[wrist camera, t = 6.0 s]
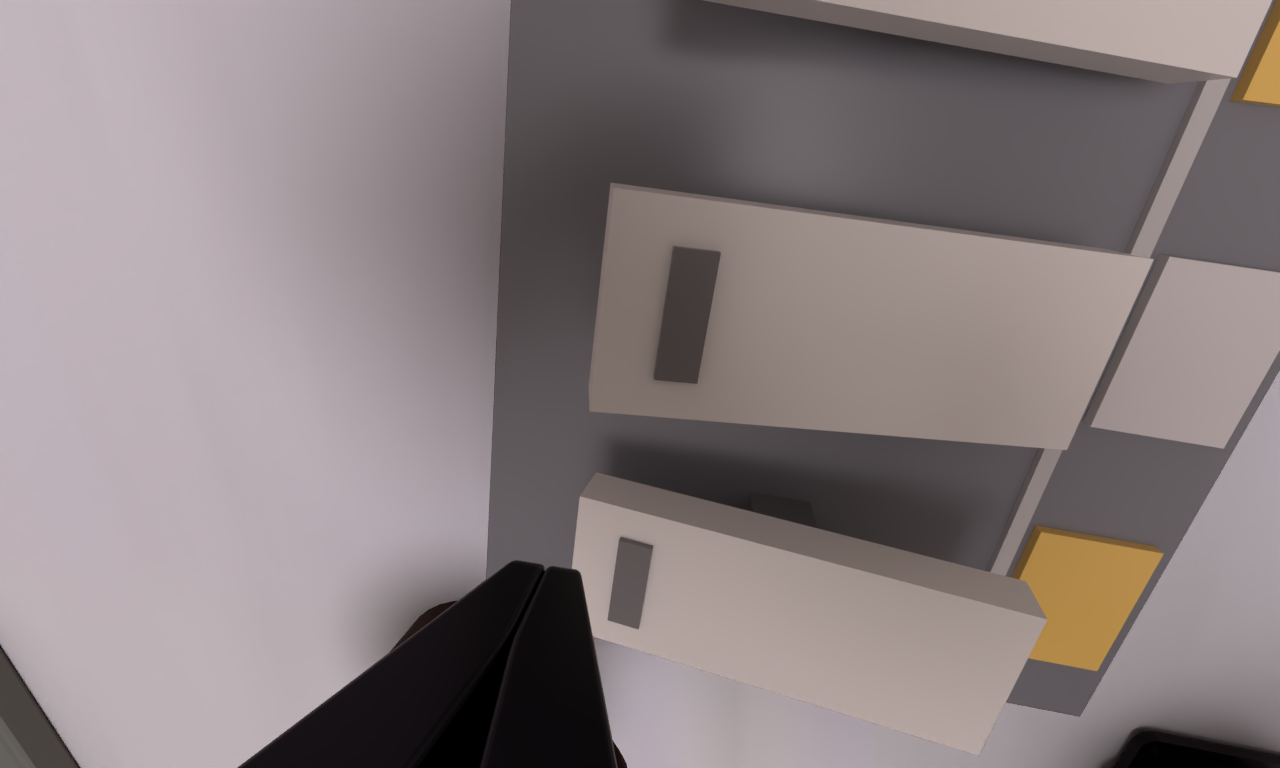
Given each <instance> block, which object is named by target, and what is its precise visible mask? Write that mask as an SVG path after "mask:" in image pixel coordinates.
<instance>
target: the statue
mask: <svg viewBox="0 0 1280 768" xmlns="http://www.w3.org/2000/svg"><path fill="white" fill-rule="evenodd" d="M0 768H79V767H78V766H77V764H76V763H75V761H74V760H73V758H72V756H71V755H70V753H69V752H68V750H67V749H66V747H65V746H64V744H63V743H62V741H61V740H60V738H59V737H58V735H57V733H56V732H55V730H54V729H53V727H52V726H51V724H50V723H49V721H48V720H47V718H46V717H45V715H44V714H43V712H42V710H41V709H40V707H39V706H38V704H37V703H36V701H35V700H34V698H33V697H32V695H31V694H30V692H29V691H28V689H27V687H26V686H25V684H24V683H23V681H22V680H21V678H20V677H19V675H18V674H17V672H16V671H15V669H14V668H13V666H12V664H11V663H10V661H9V660H8V658H7V657H6V655H5V654H4V652H3V651H2V649H1V648H0Z"/></svg>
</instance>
